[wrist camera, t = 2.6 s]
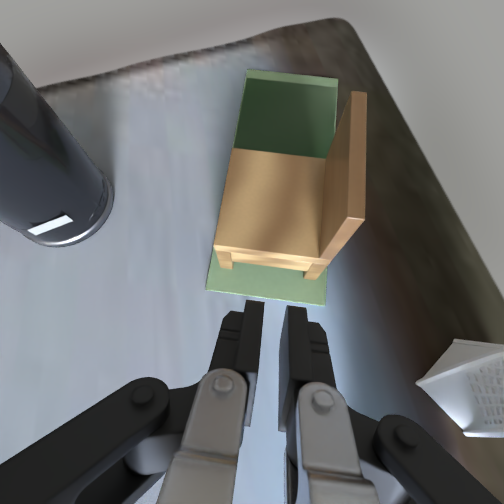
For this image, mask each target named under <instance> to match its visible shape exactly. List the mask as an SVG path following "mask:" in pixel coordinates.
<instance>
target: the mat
mask: <svg viewBox="0 0 504 504" xmlns="http://www.w3.org/2000/svg"><path fill="white" fill-rule="evenodd" d="M337 89H338V79H333V78H324V77H315V76H306V75H297V74H288V73H279V72H270V71H261V70H252V69H247V73H246V79H245V84H244V89H243V95H242V100H241V105H240V110H239V116H238V121H237V126H236V131H235V137H234V142H233V147H232V148H238V149H247V150H255V151H263V152H272V153H280V154H289V155H297V156H305V157H314V158H322V159H326V157H327V154H328V152H329V149H330V146H331V144H332V141H333V138H334V136H335V124H336V106H337ZM303 275H304V271H301V270H294V269H286V268H278V267H271V266H263V265H256V264H248V263H241V262H234V265H233V269H227V268H220V264H219V261H218V258H217V254H216V251H215V248H214V247H213V252H212V258H211V263H210V268H209V273H208V279H207V284H206V289H205V290H209V291H216V292H224V293H231V294H238V295H246V296H253V297H260V298H267V299H275V300H282V301H289V302H297V303H304V304H311V305H319V306H325V301H326V283H327V267H326V268H325V269H324V270H323V272H322V273H321V274H320V275H319V277H318V278H317V279H316V280H310V279H304V278H303Z"/></svg>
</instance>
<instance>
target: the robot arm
mask: <svg viewBox="0 0 504 504" xmlns="http://www.w3.org/2000/svg"><path fill="white" fill-rule="evenodd" d="M112 205H113V190H112V187H111V184H110V182H109V181H108V179H107V178H106V176H105V175H104V174H103V173H102V171H101V170H100V169H99V168H97V166H96V165H95V164H94V163H93V161H92V160H91V159H90V157H89V156H88V155H87V153H86V152H85V151H84V149H83V148H82V147H81V146H80V144H79V143H78V142H77V140H76V139H75V138H74V137H73V135H72V134H71V133H70V131H69V130H68V129H67V128H66V126H65V125H64V124H63V122H62V121H61V120H60V119H59V117H58V116H57V115H56V113H55V112H54V111H53V110H52V108H51V107H50V106H49V105H48V103H47V102H46V101H45V99H44V98H43V97H42V96H41V94H40V93H39V92H38V90H37V89H36V88H35V87H34V85H33V84H32V83H31V82H30V80H29V79H28V78H27V76H26V75H25V74H24V73H23V71H22V70H21V69H20V67H19V66H18V65H17V63H16V62H15V61H14V60H13V58H12V57H11V56H10V55H9V53H8V52H7V51H6V50H5V48H4V47H3V46H2V45H1V43H0V221H1V222H3V223H4V224H6V225H8V226H9V227H11V228H13V229H15V230H17V231H18V232H20V233H21V234H23V235H24V236H25V237H27V238H28V239H30V240H32V241H34V242H36V243H38V244H40V245H43V246H48V247H65V246H70V245H73V244H76V243H79V242H81V241H83V240H85V239H87V238H88V237H90V236H91V235H93V234H94V233H95V232H96V231H97V230H99V229H100V227H101V226H102V225H103V224H104V223H105V221H106V220H107V218H108V216H109V214H110V212H111V209H112ZM264 303H265V302H260V301H252V300H246V303H245V309H244V312H236V311H230V312H229V313H228V314H227V315H226V316H225V317H224V318H223V321H222V324H221V328H220V331H219V335H218V339H217V342H216V346H215V349H214V353H213V356H212V360H211V364H210V367H209V370H208V372H207V374H205V375H204V376H203V377H202V379H201V380H200V381H199V382H198V383H196V384H194V385H191V386H188V387H184V388H177V389H170V390H169V389H168V387H167V385H166V384H165V383H164V382H163V381H161V380H159V379H157V378H152V377H144V378H139V379H136V380H133V381H131V382H129V383H128V384H126V385H125V386H123V387H121V388H120V389H118V390H117V391H115V392H114V393H112V394H110V395H109V396H107V397H106V398H104V399H103V400H101V401H99V402H98V403H96V404H95V405H93V406H92V407H90V408H88V409H87V410H85V411H84V412H82V413H81V414H79V415H77V416H76V417H74V418H73V419H71V420H70V421H68V422H66V423H65V424H63V425H62V426H60V427H59V428H57V429H55V430H54V431H52V432H51V433H49V434H48V435H46V436H44V437H43V438H41V439H40V440H38V441H37V442H35V443H33V444H32V445H30V446H29V447H27V448H26V449H24V450H22V451H21V452H19V453H18V454H16V455H15V456H13V457H11V458H10V459H8V460H7V461H5V462H4V463H2V464H0V504H134V503H135V502H136V501H137V500H138V499H139V498H140V497H141V496H142V495H143V494H144V493H145V492H146V491H148V490H149V489H150V488H151V487H152V486H153V485H154V484H155V483H156V482H157V481H158V480H159V479H160V478H161V477H162V476H163V475H164V474H165V472H166V474H165V478H164V481H163V484H162V487H161V490H160V493H159V496H158V499H157V502H156V504H232V500H233V493H234V485H235V477H236V470H237V462H238V454H239V448H240V447H241V444H242V440H243V433H244V426H248V427H250V423H251V417H252V410H253V404H254V397H255V390H256V384H257V377H258V369H259V358H260V347H261V336H262V325H263V314H264ZM278 431H281V432H286V441H287V445H286V449H285V453H284V504H502V503H501V502H500V501H499V500H498V499H496V498H495V497H494V496H493V495H492V494H491V493H490V492H489V491H488V490H487V489H486V488H485V487H484V486H483V485H482V484H481V483H480V482H479V481H478V480H476V479H475V478H474V477H473V476H472V475H471V474H470V473H469V472H468V471H467V470H466V469H465V468H464V467H463V466H462V465H461V464H460V463H459V462H458V461H456V460H455V459H454V458H453V457H452V456H451V455H450V454H449V453H448V452H447V451H446V450H445V449H444V448H443V447H442V446H441V445H440V444H439V443H438V442H436V441H435V440H434V439H433V438H432V437H431V436H430V435H429V434H428V433H427V432H426V431H425V430H424V429H423V428H422V427H421V426H419V425H418V424H417V423H415V422H414V421H412V420H411V419H409V418H406V417H404V416H401V415H396V414H391V415H386V416H384V417H383V418H381V420H380V421H379V422H378V421H376V420H374V419H372V418H369V417H367V416H365V415H362V414H360V413H358V412H356V411H355V410H353V409H352V408H350V407H349V406H348V405H347V403H346V401H345V399H344V397H343V396H342V394H341V393H340V392H339V391H338V390H337V388H336V383H335V378H334V372H333V367H332V362H331V357H330V354H329V346H328V341H327V336H326V332H325V331H324V330H323V328H322V327H321V325H320V324H319V323H316V322H308V318H307V310H306V308H303V307H296V306H289V305H287V307H286V311H285V317H284V322H283V328H282V333H281V339H280V349H279V413H278Z"/></svg>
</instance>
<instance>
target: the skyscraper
mask: <svg viewBox="0 0 504 504" xmlns="http://www.w3.org/2000/svg"><path fill="white" fill-rule="evenodd" d="M416 384H417V385H418V386H419V387H421V388H422V389H423V390H424V391H425V392H426V393H427V394H428V395H429V396H430V397H431V398H432V399H433V400H434V401H435V402H436V403H437V404H438V405H439V406H440V407H441V408H442V409H443V410H444V411H445V412H446V413H447V414H448V415H449V416H450V417H451V418H452V419H453V420H454V421H455V422H456V423H457V424H458V425H459V426H460V427H461V428H462V429H463V430H464V432H463V433H464V434H465V435H466V436H469V437H504V345H501V344H493V343H485V342H477V341H469V340H461V339H454V340H453V343H452V344H451V346H450V347H449V348H448V349H447V350H446V351H445V353H444V354H443V355H442V356H441V357H440V358H439V360H438V361H437V362H436V363H435V364H434V365H433V366H432V368H431V369H430V370H429V371H428V372H427V373H426V375H425V376H424V377H423V378H421V379H419V380H417V381H416Z"/></svg>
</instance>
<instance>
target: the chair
mask: <svg viewBox="0 0 504 504" xmlns="http://www.w3.org/2000/svg"><path fill="white" fill-rule="evenodd" d="M366 114H367V93H366V92H359V91H351V93H350V96H349V99H348V101H347V104H346V106H345V109H344V112H343V114H342V117H341V120H340V122H339V125H338V128H337V130H336V133H335V136H334V138H333V141H332V144H331V146H330V149H329V152H328V154H327V157H326V159H322V158H314V157H305V156H297V155H289V154H280V153H272V152H263V151H255V150H247V149H238V148H232V151H231V156H230V161H229V166H228V172H227V177H226V182H225V187H224V193H223V198H222V203H221V208H220V214H219V219H218V224H217V229H216V235H215V240H214V248H215V251H216V254H217V258H218V261H219V264H220V268H227V269H233V265H234V262H241V263H248V264H256V265H263V266H271V267H278V268H286V269H294V270H301V271H304V275H303V278H304V279H310V280H316V279H317V278H318V277H319V275H320V274H321V273H322V272H323V270H324V269H325V268H326V267H327V266H328V265H329V263H330V262H331V261H332V260H333V258H334V257H335V256H336V255H337V253H338V252H339V251H340V250H341V248H342V247H343V246H344V245H345V244H346V242H347V241H348V240H349V239H350V237H351V236H352V235H353V234H354V232H355V231H356V230H357V229H358V228H359V226H360V225H361V224H362V223H363V221H364V220H365V182H366Z"/></svg>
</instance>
